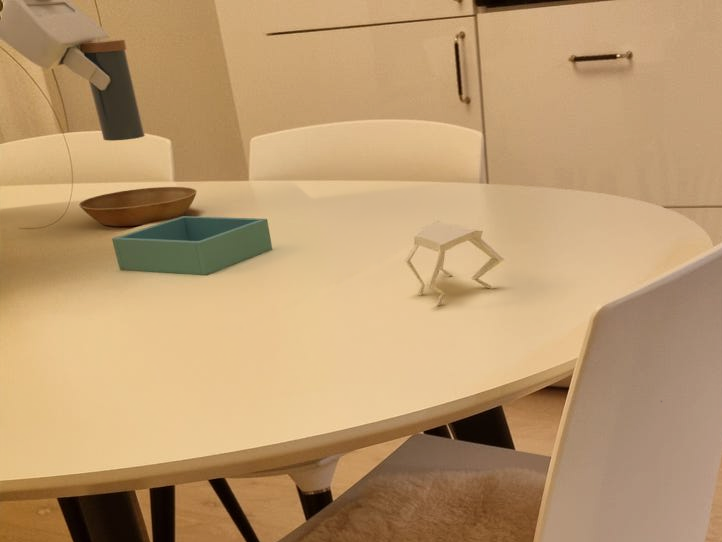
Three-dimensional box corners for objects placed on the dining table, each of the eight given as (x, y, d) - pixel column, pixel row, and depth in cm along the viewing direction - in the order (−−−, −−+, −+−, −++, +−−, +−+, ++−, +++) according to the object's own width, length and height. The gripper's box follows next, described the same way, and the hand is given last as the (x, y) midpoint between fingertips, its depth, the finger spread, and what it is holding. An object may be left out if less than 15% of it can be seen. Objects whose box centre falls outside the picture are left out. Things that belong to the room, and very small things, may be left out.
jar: (92, 140, 117) (67, 43, 111) (122, 134, 121) (100, 40, 115) (126, 140, 115) (102, 42, 109) (155, 134, 119) (134, 38, 113)
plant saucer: (83, 235, 116) (77, 212, 114) (85, 215, 127) (79, 194, 126) (205, 221, 119) (200, 198, 117) (196, 203, 131) (192, 182, 129)
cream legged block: (517, 295, 82) (515, 235, 79) (426, 310, 80) (420, 248, 77) (471, 267, 91) (468, 212, 88) (388, 279, 89) (382, 223, 86)
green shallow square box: (120, 274, 97) (111, 238, 95) (190, 249, 105) (183, 216, 103) (207, 280, 93) (199, 242, 91) (273, 253, 101) (267, 218, 99)
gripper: (27, 13, 119) (126, 96, 124) (-41, 17, 102) (76, 114, 108) (52, -33, 116) (151, 55, 122) (-14, -36, 99) (104, 66, 105)
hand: (116, 83), depth 115 cm, fingers closed on jar, 5 cm apart
